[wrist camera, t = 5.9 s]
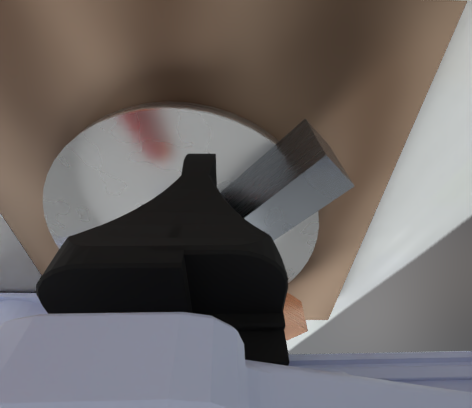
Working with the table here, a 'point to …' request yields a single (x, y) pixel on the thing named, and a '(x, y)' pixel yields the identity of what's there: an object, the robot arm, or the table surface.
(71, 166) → the flange plate
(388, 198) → the table surface
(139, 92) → the base board
